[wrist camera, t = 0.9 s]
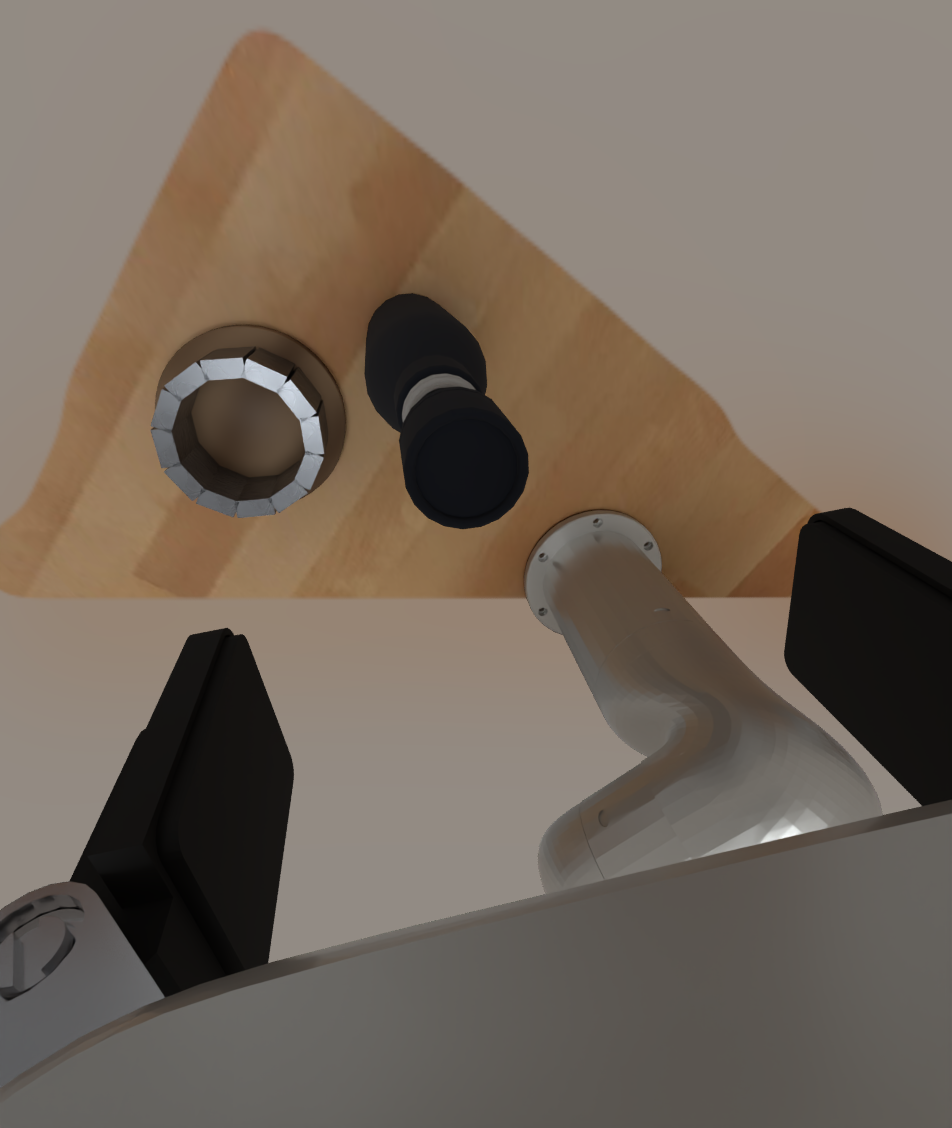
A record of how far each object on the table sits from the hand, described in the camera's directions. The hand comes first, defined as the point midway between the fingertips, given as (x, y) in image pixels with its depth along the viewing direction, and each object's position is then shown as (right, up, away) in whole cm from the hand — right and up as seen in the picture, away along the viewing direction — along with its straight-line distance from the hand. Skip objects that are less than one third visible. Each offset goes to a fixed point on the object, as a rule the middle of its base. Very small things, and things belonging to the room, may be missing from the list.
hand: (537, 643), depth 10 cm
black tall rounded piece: (-6, +18, +35) cm, 40 cm away
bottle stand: (-17, +12, +36) cm, 41 cm away
